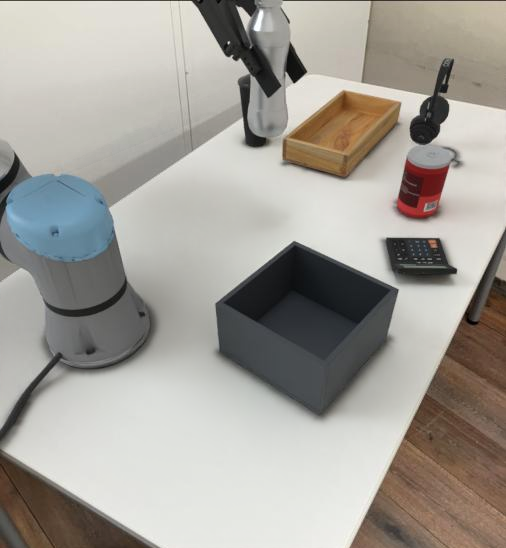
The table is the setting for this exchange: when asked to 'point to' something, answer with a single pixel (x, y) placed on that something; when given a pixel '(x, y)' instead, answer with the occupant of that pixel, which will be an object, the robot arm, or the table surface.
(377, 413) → the table surface
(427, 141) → the headphones
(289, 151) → the tray
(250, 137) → the drinking cup
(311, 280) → the bin
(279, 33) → the plastic bottle
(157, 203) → the table surface
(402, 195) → the canned food
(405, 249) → the calculator
